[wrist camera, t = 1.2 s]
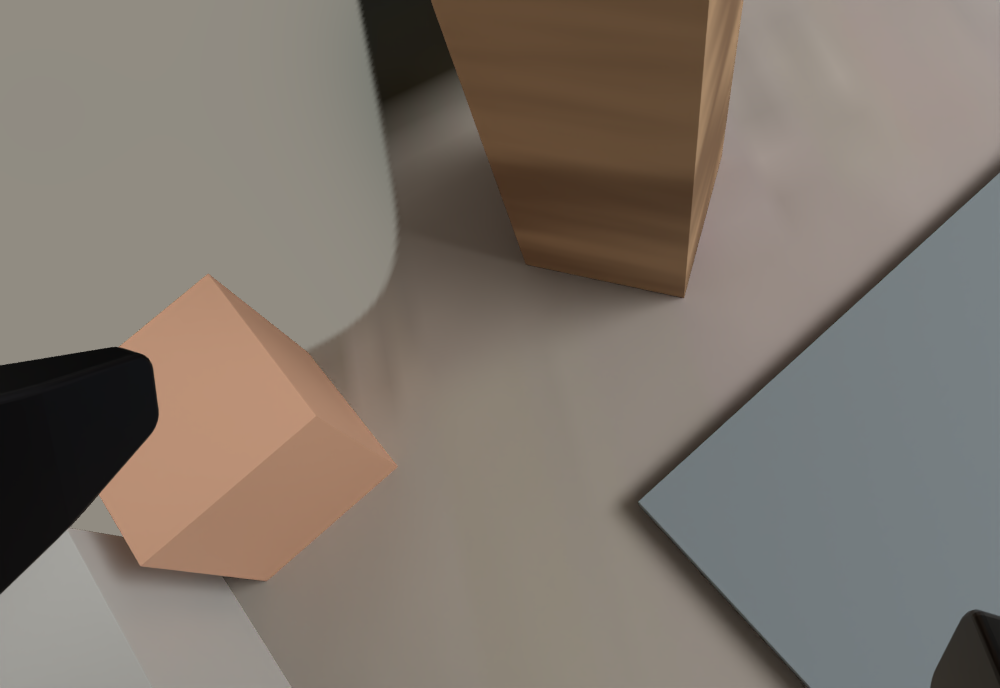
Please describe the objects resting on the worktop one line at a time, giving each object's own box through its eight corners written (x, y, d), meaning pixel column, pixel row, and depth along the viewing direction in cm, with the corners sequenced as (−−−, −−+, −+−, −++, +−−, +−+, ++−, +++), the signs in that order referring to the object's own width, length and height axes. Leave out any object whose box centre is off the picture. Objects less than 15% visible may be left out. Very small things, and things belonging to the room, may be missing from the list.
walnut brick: (683, 297, 23) (714, -63, 11) (525, 264, 24) (398, -90, 12) (721, 156, 24) (785, -304, 12) (570, 132, 26) (494, -303, 14)
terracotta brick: (267, 580, 22) (140, 565, 17) (185, 455, 24) (47, 405, 19) (398, 466, 23) (316, 415, 17) (308, 352, 25) (208, 273, 19)
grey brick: (151, 819, 21) (-31, 890, 15) (73, 665, 23) (-115, 678, 17) (295, 691, 21) (168, 715, 16) (207, 551, 23) (65, 527, 18)
